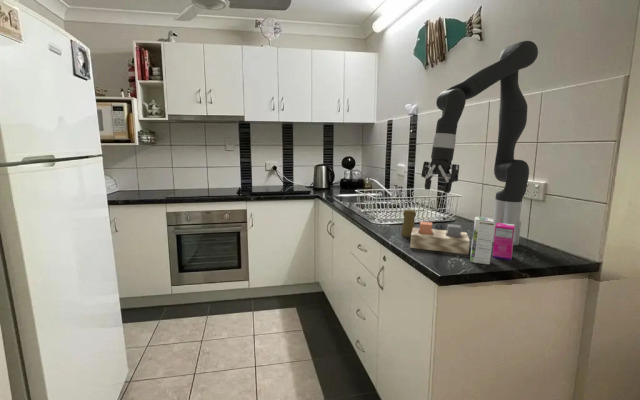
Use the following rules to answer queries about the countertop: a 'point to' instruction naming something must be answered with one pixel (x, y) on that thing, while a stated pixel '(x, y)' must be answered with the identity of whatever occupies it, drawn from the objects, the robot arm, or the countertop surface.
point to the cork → (408, 222)
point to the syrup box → (482, 240)
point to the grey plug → (454, 230)
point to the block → (440, 241)
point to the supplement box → (503, 241)
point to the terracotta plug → (425, 228)
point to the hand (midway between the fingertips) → (436, 191)
